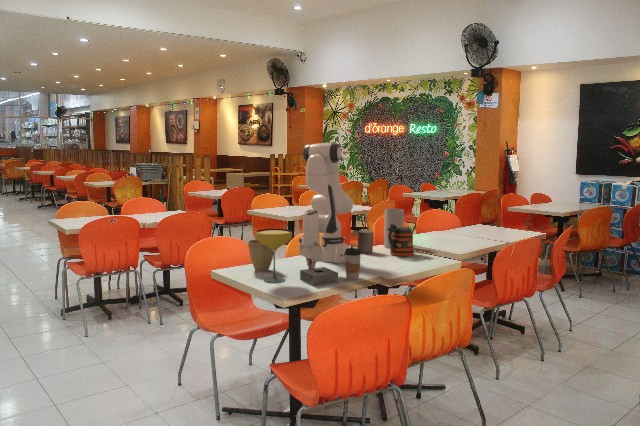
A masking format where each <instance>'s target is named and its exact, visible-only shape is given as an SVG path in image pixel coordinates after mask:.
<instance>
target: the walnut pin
mask: <svg viewBox="0 0 640 426" xmlns="http://www.w3.org/2000/svg"><path fill="white" fill-rule="evenodd" d="M311 264H312V260H311V259H309V258H308V266H307V269H313V268H312V267H311Z"/></svg>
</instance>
